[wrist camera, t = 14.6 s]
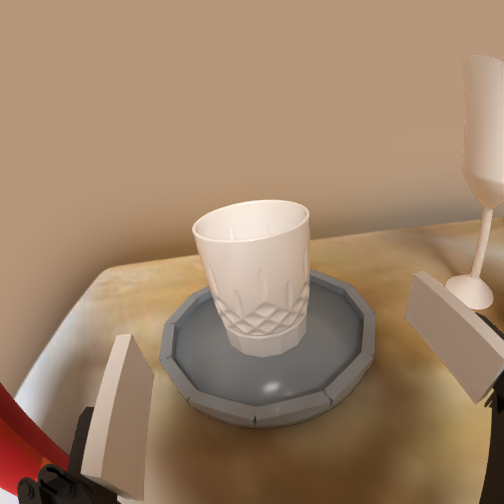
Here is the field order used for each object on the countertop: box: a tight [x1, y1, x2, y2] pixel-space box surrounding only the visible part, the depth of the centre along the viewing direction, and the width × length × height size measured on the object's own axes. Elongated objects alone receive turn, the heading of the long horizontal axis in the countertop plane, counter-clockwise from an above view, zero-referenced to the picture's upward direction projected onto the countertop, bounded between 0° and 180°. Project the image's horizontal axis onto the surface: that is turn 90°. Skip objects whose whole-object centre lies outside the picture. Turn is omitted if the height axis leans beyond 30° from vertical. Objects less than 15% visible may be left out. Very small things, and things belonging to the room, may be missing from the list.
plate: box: [159, 270, 376, 429], centre depth 22 cm, size 18×18×2 cm
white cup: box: [192, 200, 310, 358], centre depth 20 cm, size 8×8×10 cm
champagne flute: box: [445, 55, 504, 310], centre depth 17 cm, size 7×7×24 cm
